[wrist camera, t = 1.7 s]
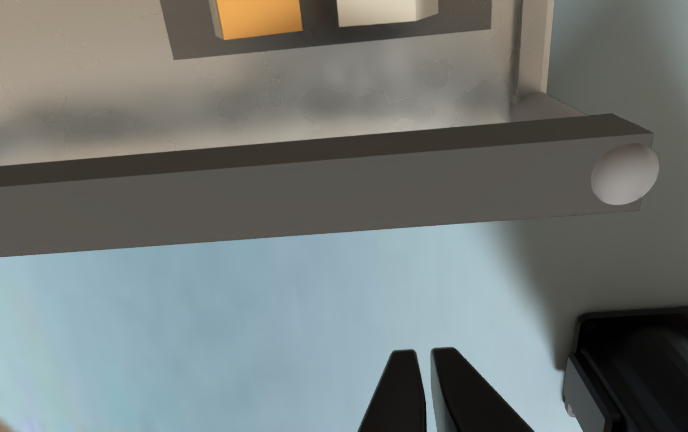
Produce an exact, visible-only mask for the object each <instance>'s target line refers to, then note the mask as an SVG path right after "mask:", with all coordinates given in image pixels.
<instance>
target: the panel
mask: <svg viewBox="0 0 688 432" xmlns="http://www.w3.org/2000/svg"><path fill="white" fill-rule="evenodd" d="M299 5H300V13H301V21H302V29H303V31H296V32H288V33H279V34H271V35H263V36H254V37H246V38H238V39H229V40H223V39H221V38H219V37H217V36H216V35H215V30H214V25H213V20H212V15H211V10H210V5H209V0H0V166H5V165H16V164H28V163H40V162H52V161H63V160H75V159H87V158H98V157H110V156H122V155H133V154H145V153H157V152H168V151H180V150H192V149H204V148H215V147H227V146H239V145H250V144H262V143H274V142H285V141H297V140H309V139H321V138H332V137H344V136H356V135H367V134H379V133H391V132H402V131H414V130H426V129H437V128H449V127H461V126H473V125H484V124H496V123H508V122H510V117H509V113H510V108H511V106H512V104H514V105H516V106H517V105H518V104H519V103H520V102H521V101H522V100H523V99H524V98H525V97H527V96H529V95H531V94H535V93H540V91H541V92H544V93H546V91H547V80H548V68H549V56H550V45H551V33H552V21H553V10H554V0H438V14H435V15H432V16H429V17H426V18H423V19H420V20H417V21H409V22H397V23H384V24H371V25H359V26H346V27H339V19H338V9H337V0H299Z"/></svg>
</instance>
